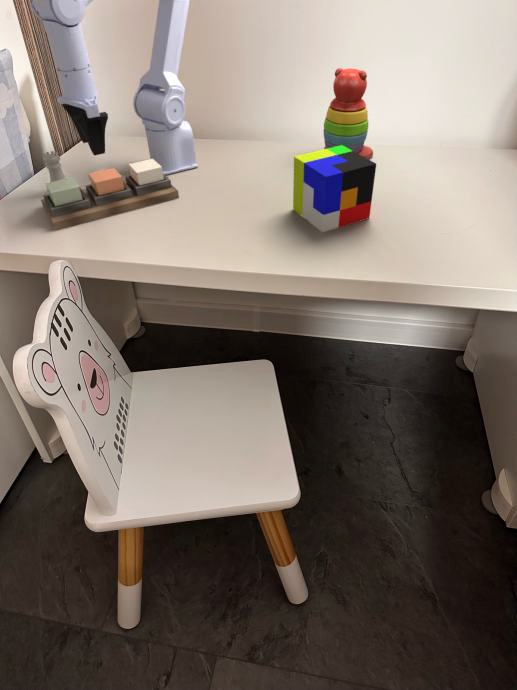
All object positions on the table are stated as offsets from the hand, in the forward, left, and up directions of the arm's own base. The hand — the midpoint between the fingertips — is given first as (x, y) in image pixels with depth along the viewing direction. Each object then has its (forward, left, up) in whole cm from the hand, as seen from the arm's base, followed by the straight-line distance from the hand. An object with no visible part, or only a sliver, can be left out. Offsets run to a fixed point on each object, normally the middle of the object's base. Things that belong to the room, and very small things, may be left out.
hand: (93, 147), depth 94 cm
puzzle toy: (-33, +31, -10) cm, 46 cm away
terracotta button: (0, +4, -6) cm, 8 cm away
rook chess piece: (+7, -6, -10) cm, 13 cm away
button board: (0, +4, -9) cm, 10 cm away
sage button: (+8, +4, -6) cm, 11 cm away
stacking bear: (-51, +11, -10) cm, 53 cm away
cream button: (-8, +4, -6) cm, 11 cm away
